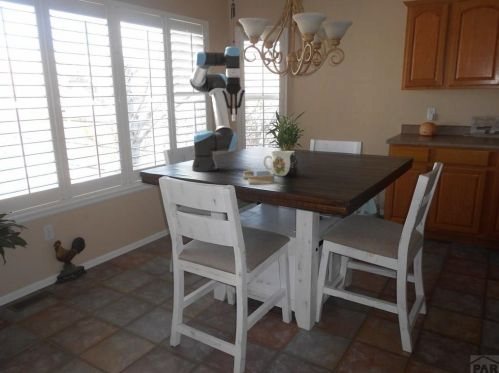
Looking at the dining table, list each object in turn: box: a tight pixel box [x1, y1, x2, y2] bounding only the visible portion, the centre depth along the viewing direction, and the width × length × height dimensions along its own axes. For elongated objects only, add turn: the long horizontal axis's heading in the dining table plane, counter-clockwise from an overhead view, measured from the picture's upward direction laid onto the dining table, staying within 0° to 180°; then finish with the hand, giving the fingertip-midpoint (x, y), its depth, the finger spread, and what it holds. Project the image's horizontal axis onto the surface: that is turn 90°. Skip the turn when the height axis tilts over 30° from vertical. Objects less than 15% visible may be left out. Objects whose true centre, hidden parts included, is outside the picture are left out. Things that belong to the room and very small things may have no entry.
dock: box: [242, 170, 275, 185], centre depth 214 cm, size 15×14×4 cm
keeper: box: [253, 167, 270, 176], centre depth 214 cm, size 7×7×6 cm
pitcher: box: [263, 150, 295, 177], centre depth 228 cm, size 11×18×14 cm, turn 76°
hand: (233, 120), depth 221 cm, fingers closed
